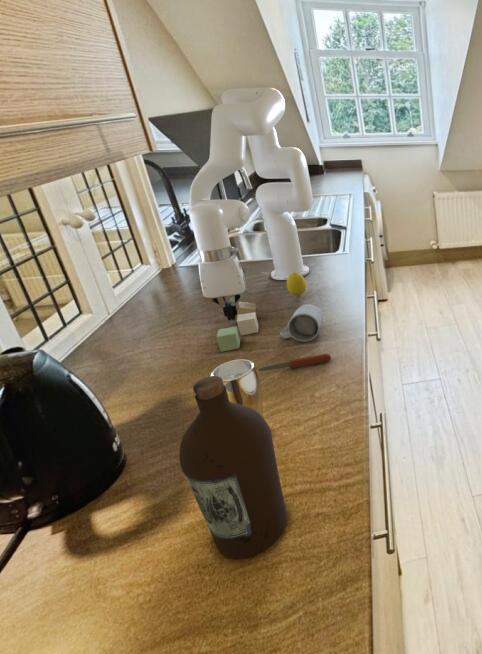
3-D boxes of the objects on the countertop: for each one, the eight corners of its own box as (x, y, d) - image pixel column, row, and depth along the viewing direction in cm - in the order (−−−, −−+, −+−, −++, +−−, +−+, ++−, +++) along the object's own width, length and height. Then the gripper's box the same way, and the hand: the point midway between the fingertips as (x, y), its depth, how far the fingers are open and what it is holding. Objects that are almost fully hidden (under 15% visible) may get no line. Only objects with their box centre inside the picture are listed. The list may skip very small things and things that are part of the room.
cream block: (241, 328, 122) (238, 314, 120) (258, 325, 123) (255, 311, 121) (240, 335, 118) (236, 321, 116) (257, 332, 119) (254, 318, 118)
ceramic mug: (325, 325, 121) (320, 299, 118) (321, 340, 114) (316, 313, 111) (285, 330, 120) (279, 303, 117) (278, 345, 113) (271, 318, 110)
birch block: (236, 315, 126) (239, 301, 125) (253, 317, 128) (255, 303, 127) (236, 321, 122) (238, 307, 121) (253, 323, 124) (255, 309, 123)
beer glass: (225, 440, 82) (203, 370, 76) (263, 421, 86) (245, 353, 80) (239, 460, 77) (217, 387, 71) (279, 439, 81) (261, 368, 75)
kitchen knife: (331, 359, 106) (329, 351, 105) (331, 362, 105) (330, 354, 104) (259, 372, 102) (257, 365, 101) (258, 376, 100) (256, 368, 100)
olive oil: (241, 494, 70) (198, 356, 60) (305, 502, 69) (271, 361, 59) (193, 559, 61) (133, 407, 51) (266, 569, 59) (218, 414, 49)
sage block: (222, 344, 114) (218, 329, 113) (240, 340, 116) (236, 326, 114) (220, 352, 111) (216, 337, 109) (239, 348, 112) (235, 333, 110)
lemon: (310, 293, 142) (306, 269, 139) (303, 300, 137) (298, 276, 134) (294, 292, 143) (289, 269, 140) (286, 300, 138) (281, 276, 134)
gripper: (248, 246, 122) (262, 308, 129) (186, 253, 118) (203, 317, 125) (246, 254, 116) (260, 318, 122) (180, 262, 111) (199, 328, 118)
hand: (232, 318), depth 123 cm, fingers closed
